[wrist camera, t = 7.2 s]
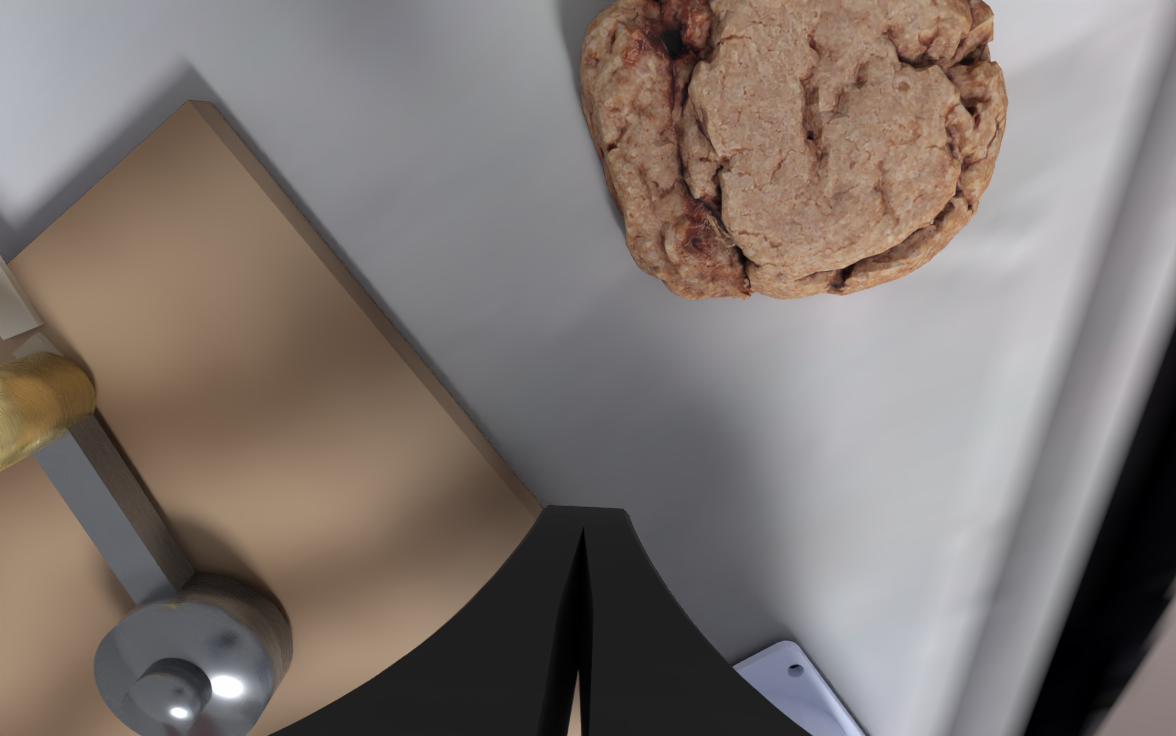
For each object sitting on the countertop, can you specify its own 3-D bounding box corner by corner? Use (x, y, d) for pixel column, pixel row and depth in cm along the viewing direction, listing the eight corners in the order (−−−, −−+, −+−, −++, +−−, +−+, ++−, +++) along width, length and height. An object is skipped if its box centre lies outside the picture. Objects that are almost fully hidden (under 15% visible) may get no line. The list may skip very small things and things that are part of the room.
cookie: (920, 326, 20) (972, 359, 17) (555, 270, 20) (545, 293, 17) (1045, -68, 17) (1134, -111, 14) (610, -139, 16) (609, -197, 14)
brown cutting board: (703, 703, 24) (707, 731, 23) (253, 935, 29) (238, 968, 27) (185, 71, 18) (156, 66, 17) (-276, 496, 23) (-323, 515, 21)
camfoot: (320, 677, 22) (260, 787, 19) (190, 716, 23) (108, 829, 19) (103, 324, 19) (-26, 371, 15) (-43, 383, 20) (-201, 443, 16)
